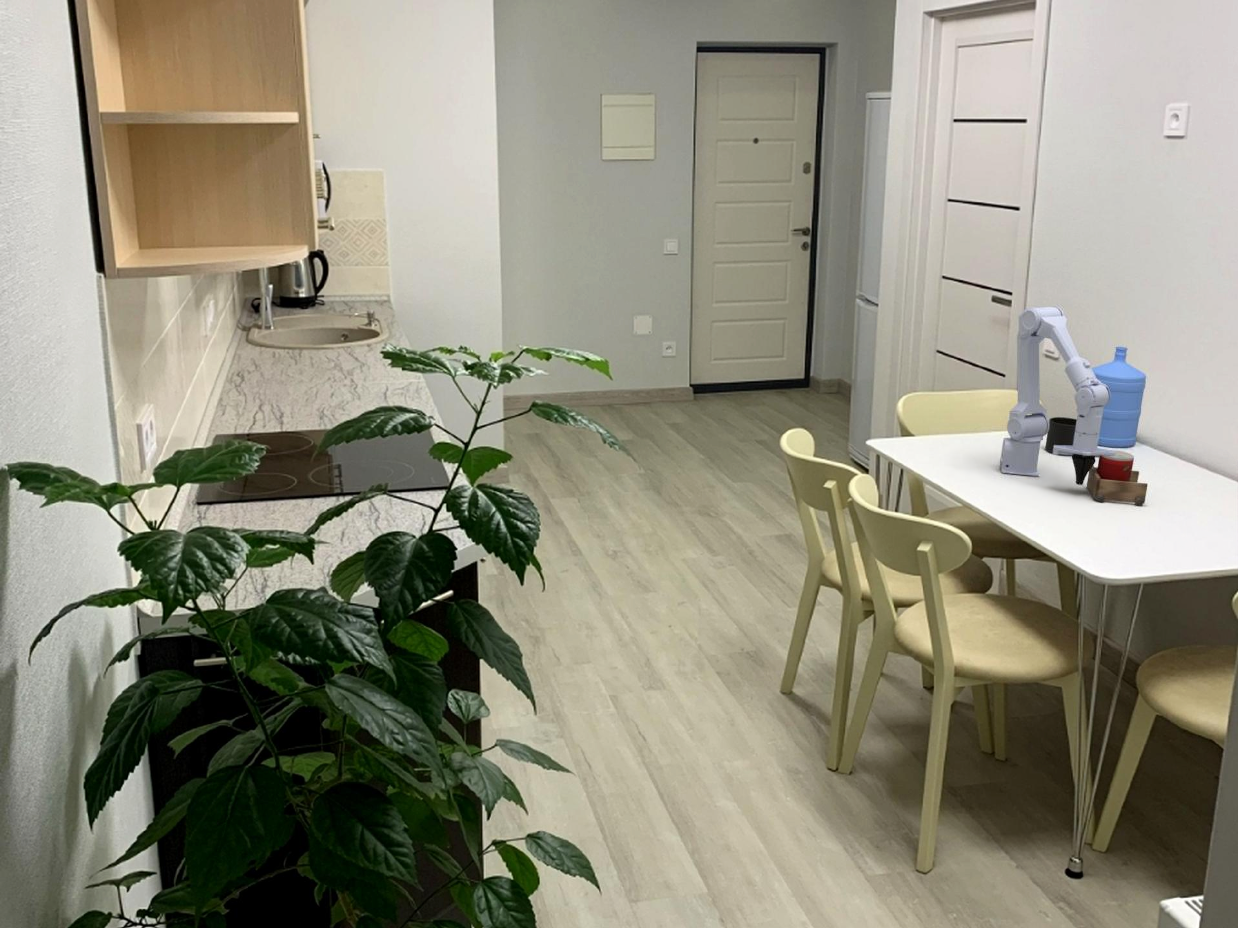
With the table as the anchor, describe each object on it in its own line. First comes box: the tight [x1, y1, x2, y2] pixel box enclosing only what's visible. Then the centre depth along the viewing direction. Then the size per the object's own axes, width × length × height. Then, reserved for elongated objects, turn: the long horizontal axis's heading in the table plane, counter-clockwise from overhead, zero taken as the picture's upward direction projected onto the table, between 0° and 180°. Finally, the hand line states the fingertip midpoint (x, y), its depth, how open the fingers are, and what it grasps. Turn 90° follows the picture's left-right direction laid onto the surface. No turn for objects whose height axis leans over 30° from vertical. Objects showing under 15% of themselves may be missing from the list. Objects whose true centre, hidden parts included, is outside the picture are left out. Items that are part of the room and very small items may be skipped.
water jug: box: [1091, 346, 1147, 449], centre depth 348 cm, size 16×16×28 cm
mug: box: [1044, 416, 1077, 457], centre depth 339 cm, size 9×12×9 cm
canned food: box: [1097, 449, 1135, 482], centre depth 299 cm, size 8×8×11 cm
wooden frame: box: [1086, 464, 1148, 507], centre depth 299 cm, size 12×13×6 cm
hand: (1079, 483), depth 301 cm, fingers closed
